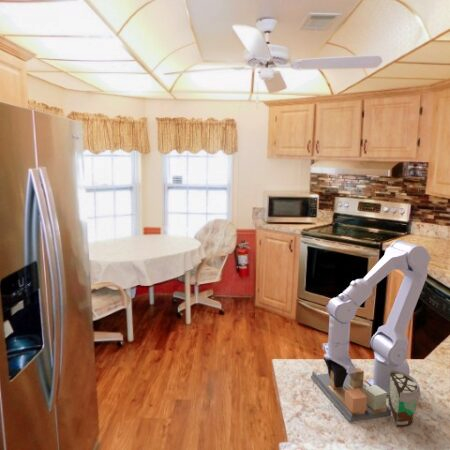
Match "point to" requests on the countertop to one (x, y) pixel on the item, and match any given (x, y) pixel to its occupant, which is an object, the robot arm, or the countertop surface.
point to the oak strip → (340, 393)
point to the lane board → (323, 384)
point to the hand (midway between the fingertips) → (336, 384)
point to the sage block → (375, 397)
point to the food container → (402, 397)
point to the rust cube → (355, 400)
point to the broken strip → (382, 410)
